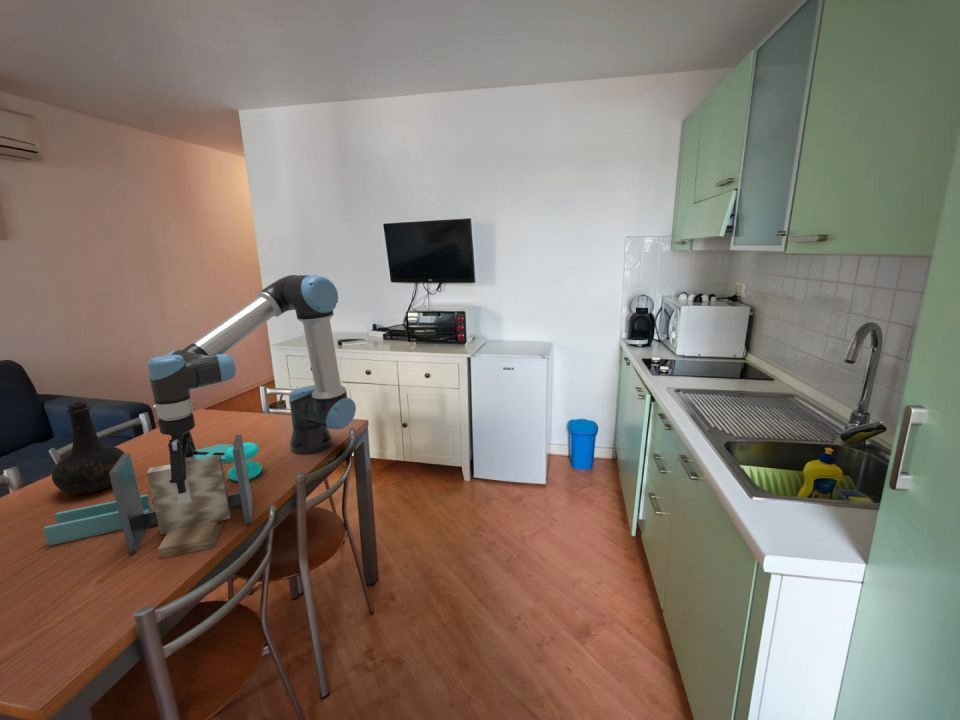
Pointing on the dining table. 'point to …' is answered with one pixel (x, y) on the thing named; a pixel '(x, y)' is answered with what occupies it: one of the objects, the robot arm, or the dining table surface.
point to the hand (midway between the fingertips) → (189, 490)
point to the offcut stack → (189, 539)
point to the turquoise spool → (252, 466)
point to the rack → (138, 521)
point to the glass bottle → (85, 457)
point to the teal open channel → (87, 522)
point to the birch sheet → (204, 495)
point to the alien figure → (214, 452)
